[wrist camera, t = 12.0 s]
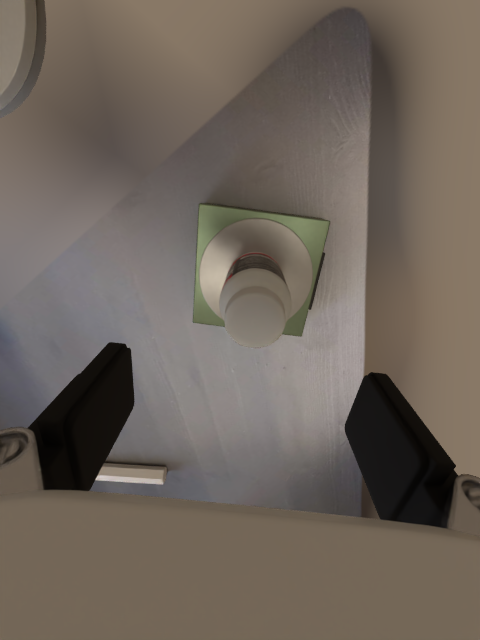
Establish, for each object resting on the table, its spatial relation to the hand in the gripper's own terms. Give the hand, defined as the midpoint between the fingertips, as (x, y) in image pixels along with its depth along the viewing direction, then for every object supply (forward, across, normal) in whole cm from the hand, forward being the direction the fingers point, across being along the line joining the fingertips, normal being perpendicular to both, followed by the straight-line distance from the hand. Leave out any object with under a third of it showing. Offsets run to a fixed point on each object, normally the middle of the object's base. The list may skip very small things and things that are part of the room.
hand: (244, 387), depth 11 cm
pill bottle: (+17, -1, 0) cm, 17 cm away
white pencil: (+20, +17, +36) cm, 45 cm away
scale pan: (+17, -1, 0) cm, 17 cm away
